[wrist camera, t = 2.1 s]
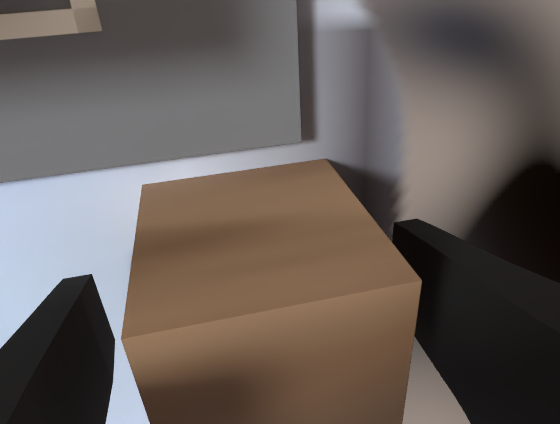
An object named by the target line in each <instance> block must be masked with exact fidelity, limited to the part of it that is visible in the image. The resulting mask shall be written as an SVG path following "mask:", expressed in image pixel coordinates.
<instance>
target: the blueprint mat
mask: <svg viewBox="0 0 560 424" xmlns="http://www.w3.org/2000/svg"><path fill="white" fill-rule="evenodd" d="M298 142H301V116H300V88H299V60H298V31H297V3H296V0H0V183H2V182H10V181H17V180H24V179H32V178H39V177H47V176H54V175H61V174H69V173H76V172H84V171H91V170H98V169H106V168H113V167H121V166H128V165H135V164H143V163H150V162H158V161H165V160H172V159H180V158H187V157H195V156H202V155H209V154H217V153H224V152H231V151H239V150H246V149H254V148H261V147H268V146H276V145H283V144H291V143H298Z"/></svg>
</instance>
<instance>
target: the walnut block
mask: <svg viewBox="0 0 560 424" xmlns="http://www.w3.org/2000/svg"><path fill="white" fill-rule="evenodd" d="M421 284H422V280H421V279H420V277H419V276H418V275H417V274H416V272H415V271H414V270H413V269H412V267H411V266H410V265H409V264H408V262H407V261H406V260H405V258H404V257H403V256H402V255H401V253H400V252H399V251H398V250H397V248H396V247H395V246H394V244H393V243H392V242H391V241H390V239H389V238H388V237H387V236H386V234H385V233H384V232H383V231H382V229H381V228H380V227H379V225H378V224H377V223H376V222H375V220H374V219H373V218H372V217H371V215H370V214H369V213H368V212H367V210H366V209H365V208H364V206H363V205H362V204H361V203H360V201H359V200H358V199H357V198H356V196H355V195H354V194H353V193H352V191H351V190H350V189H349V187H348V186H347V185H346V184H345V182H344V181H343V180H342V179H341V177H340V176H339V175H338V174H337V172H336V171H335V170H334V168H333V167H332V166H331V165H330V163H329V162H328V161H327V160H326V159H320V160H313V161H306V162H299V163H292V164H285V165H278V166H271V167H264V168H257V169H250V170H243V171H236V172H229V173H222V174H215V175H208V176H201V177H194V178H187V179H180V180H173V181H166V182H159V183H152V184H145V185H142V191H141V198H140V205H139V212H138V220H137V227H136V234H135V242H134V249H133V256H132V263H131V271H130V278H129V285H128V292H127V300H126V307H125V314H124V322H123V329H122V336H121V340H122V343H123V346H124V349H125V352H126V355H127V358H128V361H129V364H130V367H131V370H132V372H133V375H134V378H135V381H136V384H137V387H138V390H139V393H140V396H141V399H142V402H143V404H144V407H145V410H146V413H147V416H148V419H149V422H150V424H402V421H403V414H404V407H405V399H406V392H407V385H408V378H409V370H410V363H411V356H412V349H413V341H414V334H415V327H416V320H417V313H418V305H419V298H420V291H421Z"/></svg>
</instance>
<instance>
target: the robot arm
mask: <svg viewBox="0 0 560 424" xmlns="http://www.w3.org/2000/svg"><path fill="white" fill-rule="evenodd" d="M392 243H393V244H394V246H395V247H396V248H397V250H398V251H399V252H400V253H401V255H402V256H403V257H404V258H405V260H406V261H407V262H408V264H409V265H410V266H411V267H412V269H413V270H414V271H415V272H416V274H417V275H418V276H419V277H420V279H421V280H422V284H421V291H420V298H419V305H418V313H417V320H416V327H415V334H414V336H415V337H416V339H417V340H418V342H419V344H420V345H421V347H422V348H423V350H424V351H425V353H426V354H427V356H428V357H429V358H430V360H431V362H432V363H433V365H434V366H435V368H436V369H437V371H438V372H439V373H440V375H441V377H442V378H443V380H444V381H445V382H446V384H447V385H448V387H449V388H450V390H451V391H452V393H453V394H454V396H455V397H456V399H457V401H458V403H459V404H460V406H461V407H462V409H463V411H464V412H465V414H466V416H467V418H468V420H469V421H470V423H471V424H560V283H558V282H555V281H553V280H550V279H548V278H545V277H543V276H540V275H538V274H536V273H533V272H531V271H529V270H526V269H524V268H521V267H519V266H517V265H514V264H512V263H510V262H508V261H506V260H504V259H501V258H499V257H497V256H495V255H493V254H490V253H489V252H487V251H484V250H482V249H480V248H478V247H476V246H474V245H472V244H470V243H468V242H466V241H464V240H462V239H460V238H458V237H456V236H454V235H452V234H450V233H448V232H446V231H443V230H441V229H439V228H437V227H435V226H433V225H431V224H428V223H426V222H424V221H421V220H419V219H412V220H406V221H400V222H394V228H393V240H392ZM114 351H115V338H114V336H113V333H112V330H111V327H110V324H109V321H108V319H107V316H106V313H105V310H104V307H103V304H102V302H101V299H100V296H99V293H98V290H97V287H96V285H95V282H94V279H93V276H92V274H89V275H83V276H77V277H71V278H65V279H63V280H62V281H61V282H60V283H59V284H58V285H57V286H56V287H55V288H54V289H53V290H52V291H51V293H50V294H49V295H48V296H47V297H46V298H45V299H44V301H43V302H42V303H41V304H40V305H39V306H38V307H37V309H36V310H35V311H34V312H33V313H32V314H31V315H30V317H29V318H28V319H27V320H26V321H25V322H24V323H23V324H22V325H21V327H20V328H19V329H18V330H17V331H16V332H15V333H14V334H13V335H12V336H11V338H10V339H9V340H8V341H7V342H6V343H5V344H4V345H3V346H2V348H1V349H0V424H105V423H106V417H107V412H108V406H109V401H110V395H111V389H112V383H113V371H114Z"/></svg>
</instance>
